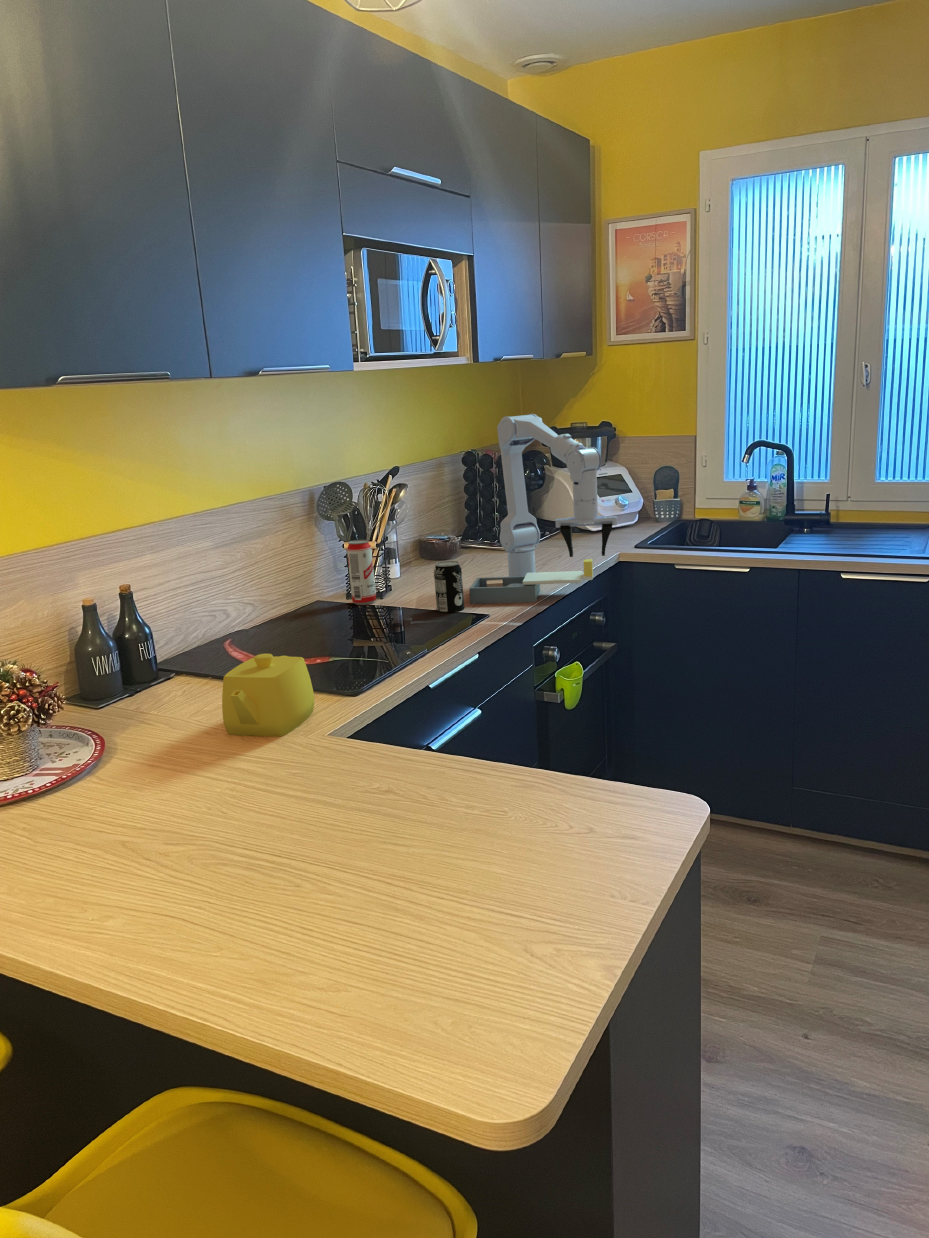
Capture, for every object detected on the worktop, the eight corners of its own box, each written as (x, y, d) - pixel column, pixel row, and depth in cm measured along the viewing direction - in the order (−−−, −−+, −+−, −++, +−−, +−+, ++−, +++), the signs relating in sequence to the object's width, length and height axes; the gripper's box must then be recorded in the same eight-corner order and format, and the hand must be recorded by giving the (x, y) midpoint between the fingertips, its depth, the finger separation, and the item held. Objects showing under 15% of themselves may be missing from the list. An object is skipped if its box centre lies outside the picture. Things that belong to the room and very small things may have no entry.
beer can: (348, 605, 232) (341, 543, 228) (359, 599, 238) (353, 539, 234) (369, 605, 230) (363, 543, 226) (380, 600, 235) (375, 539, 231)
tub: (478, 594, 233) (477, 577, 232) (540, 593, 230) (539, 575, 229) (470, 606, 222) (469, 588, 220) (535, 604, 219) (534, 586, 217)
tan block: (487, 594, 231) (486, 580, 230) (503, 592, 230) (502, 579, 230) (487, 597, 227) (486, 583, 226) (503, 596, 227) (502, 582, 226)
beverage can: (465, 608, 220) (462, 559, 217) (463, 614, 214) (459, 565, 211) (439, 609, 221) (435, 561, 218) (435, 616, 215) (431, 566, 212)
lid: (527, 575, 228) (526, 558, 227) (593, 573, 225) (592, 556, 224) (522, 584, 219) (521, 566, 218) (592, 582, 216) (591, 564, 215)
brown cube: (512, 597, 225) (511, 583, 224) (527, 597, 224) (526, 583, 223) (506, 600, 222) (505, 587, 221) (521, 601, 220) (520, 587, 219)
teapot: (275, 749, 141) (265, 677, 138) (204, 746, 144) (194, 675, 141) (327, 704, 159) (319, 640, 156) (263, 702, 163) (255, 639, 160)
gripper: (553, 503, 214) (556, 559, 217) (615, 500, 211) (617, 557, 214) (555, 499, 220) (558, 554, 224) (616, 496, 218) (617, 552, 221)
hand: (587, 555), depth 219 cm, fingers open, 7 cm apart
